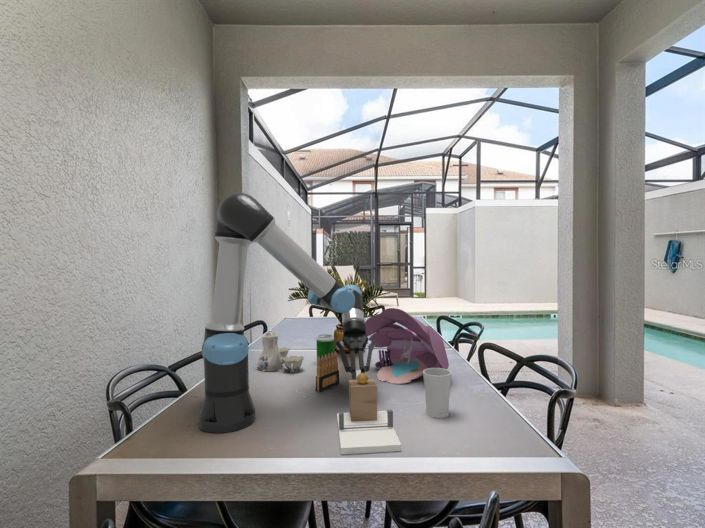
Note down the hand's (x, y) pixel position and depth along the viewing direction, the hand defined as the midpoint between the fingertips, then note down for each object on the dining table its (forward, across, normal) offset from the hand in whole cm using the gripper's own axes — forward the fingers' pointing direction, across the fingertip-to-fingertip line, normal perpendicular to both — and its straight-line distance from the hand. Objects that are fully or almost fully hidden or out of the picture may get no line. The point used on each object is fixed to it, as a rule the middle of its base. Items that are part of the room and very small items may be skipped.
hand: (359, 392), depth 114 cm
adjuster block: (+8, 0, +2) cm, 8 cm away
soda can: (-32, +9, -41) cm, 53 cm away
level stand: (+14, 0, +6) cm, 15 cm away
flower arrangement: (-18, -20, -26) cm, 37 cm away
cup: (+7, -22, -1) cm, 23 cm away
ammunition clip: (-11, +9, -20) cm, 24 cm away
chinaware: (-31, +29, -39) cm, 58 cm away
